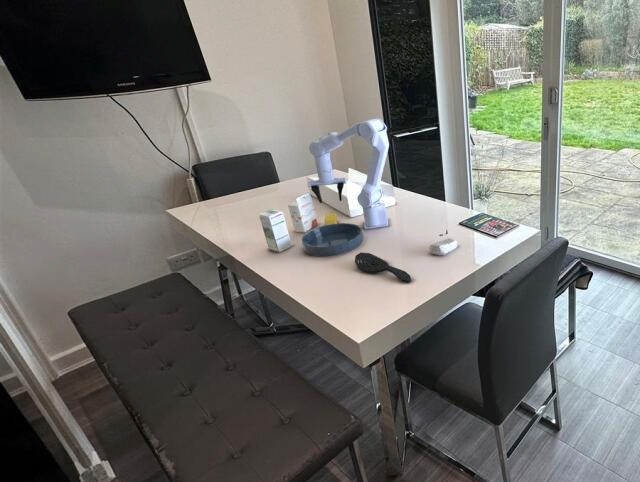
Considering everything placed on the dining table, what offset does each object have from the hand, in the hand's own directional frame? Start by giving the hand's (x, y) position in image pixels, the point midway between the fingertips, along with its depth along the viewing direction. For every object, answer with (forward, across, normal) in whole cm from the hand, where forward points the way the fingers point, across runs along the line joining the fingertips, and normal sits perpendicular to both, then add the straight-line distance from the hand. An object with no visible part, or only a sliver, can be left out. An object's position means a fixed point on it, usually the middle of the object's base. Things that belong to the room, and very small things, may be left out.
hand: (330, 201), depth 171 cm
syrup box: (+10, +18, +20) cm, 29 cm away
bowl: (+9, -1, +23) cm, 25 cm away
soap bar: (+10, -40, +43) cm, 60 cm away
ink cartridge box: (+10, +11, +3) cm, 15 cm away
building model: (+10, -6, -28) cm, 30 cm away
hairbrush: (+10, -18, +51) cm, 55 cm away
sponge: (+9, +1, +4) cm, 10 cm away
